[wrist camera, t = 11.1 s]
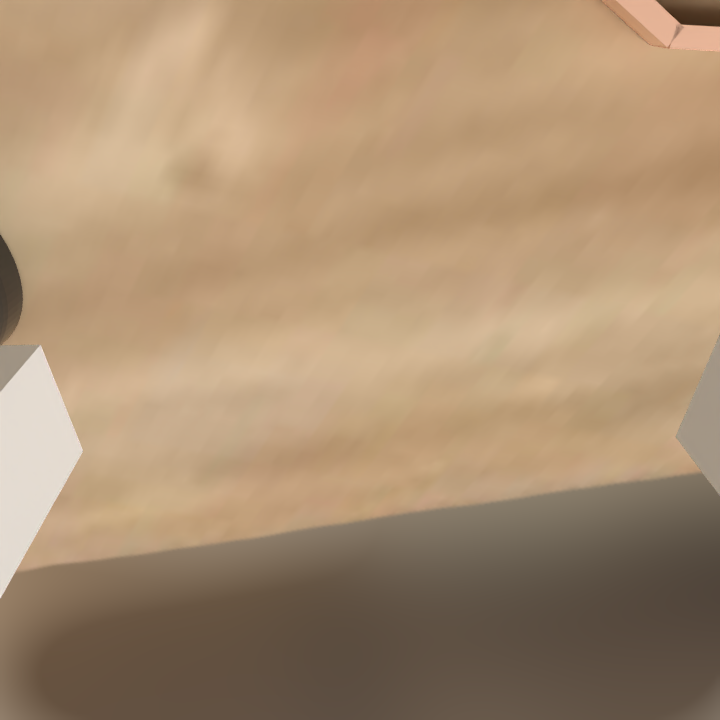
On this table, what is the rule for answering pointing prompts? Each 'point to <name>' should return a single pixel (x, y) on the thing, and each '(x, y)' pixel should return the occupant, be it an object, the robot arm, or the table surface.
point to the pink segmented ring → (664, 26)
